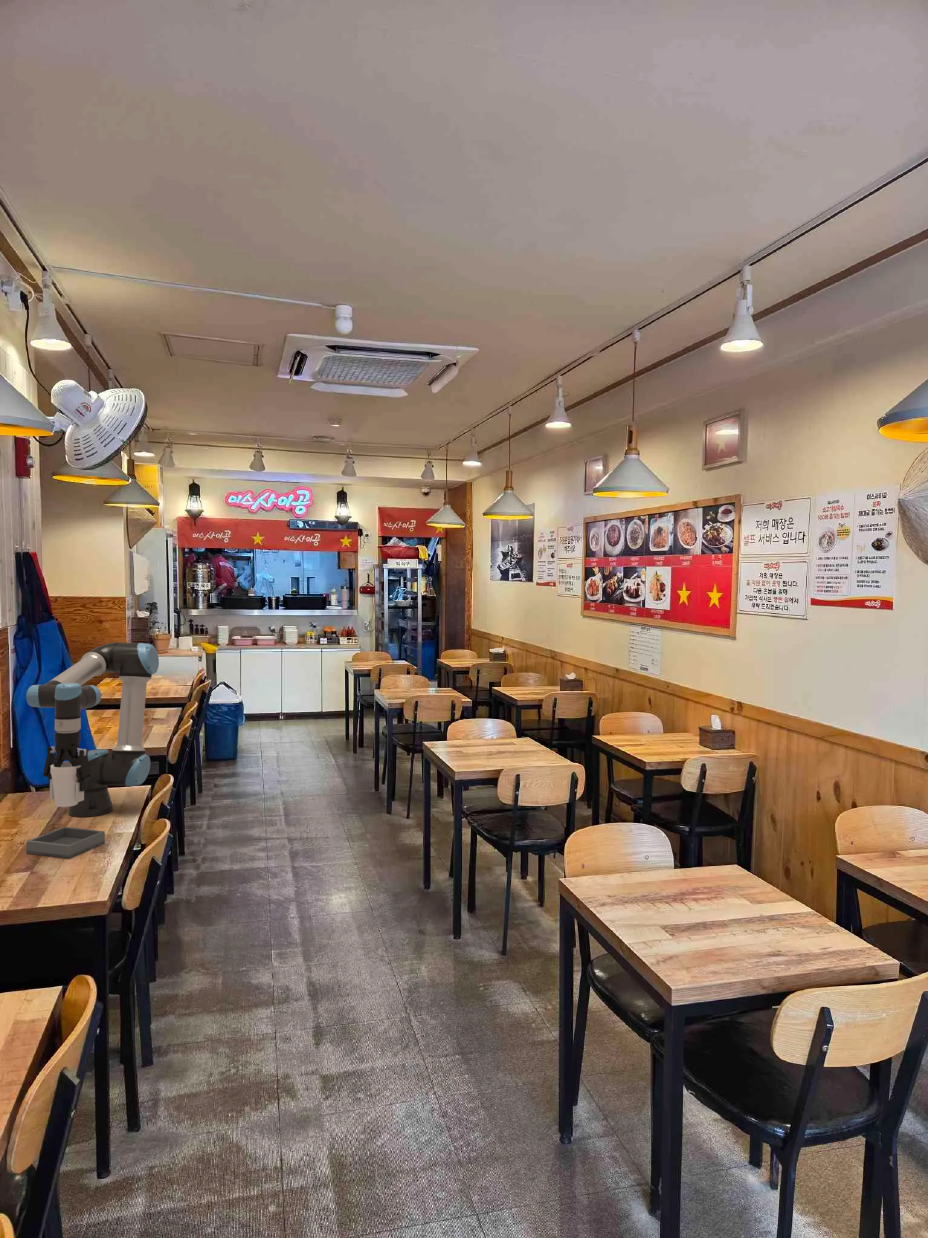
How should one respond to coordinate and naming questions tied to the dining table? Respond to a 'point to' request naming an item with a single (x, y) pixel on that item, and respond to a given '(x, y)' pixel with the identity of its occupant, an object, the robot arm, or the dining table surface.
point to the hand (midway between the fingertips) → (66, 799)
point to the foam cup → (64, 784)
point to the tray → (65, 842)
